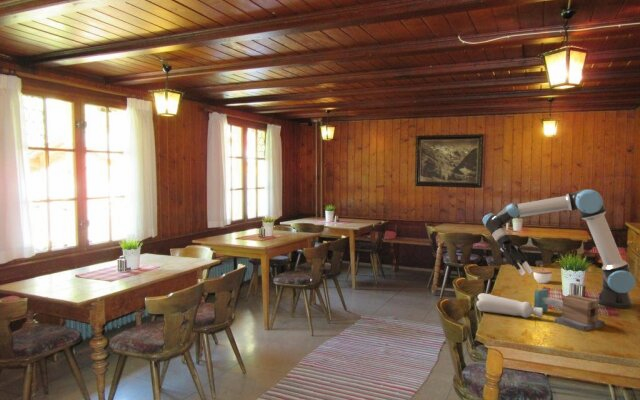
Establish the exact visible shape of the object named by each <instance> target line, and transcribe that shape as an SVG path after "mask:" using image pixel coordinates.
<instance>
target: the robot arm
mask: <svg viewBox="0 0 640 400" xmlns="http://www.w3.org/2000/svg"><path fill="white" fill-rule="evenodd" d="M568 210H570V211H571V212H573V211H578V213H579V215H580V218H581V219H582V220H584V221H585V222H586V224H587V226H588V229H589V232H590V235H591V237H592V238H593V242H594V244H595V246H596V249H597V251H598V254H599V256H600V259H601V262H602V267H601V271H602V289H601V292H600V293H599V295H598V298H597V300H598V305H601V306H605V307H608V308H615V309H630V308H632V300H631V296H630V294H629V292H630V291H632V290H633V289H634V288H635V286H636V279H635V278H636V277H635V276H634V274H632V271H631V269H630V265H629V263H628V262H627V261H625V260H623V258H622V256H621V253H620V251H619V248H618V246H617V244H616V242H615V241H616V240H615V238H614V236H613V234H612V231H611V229H610V226H609V223H608V222H607V219H606V217H605V215H606V214H607V209H606V207H605V205H604V199H603V197H602V195H601V194H600V193H599V192H598V191H596V190H594V189H588V188H586V189H585V188H584V189H581V190H578V191H574V192H571V193H570V192H569V193H566V195H564V196H557V197H550V198H546V199H540V200H535V201H534V200H533V201H528V202H522V203H517V204H514V203H512V202H511V203H509V204H507V205H505V206H503V208H502V209H501V210H500V211H498V212H497V213H495V214H494V213H492V212H491V213H488V214H486V215H484V216H483V218H482V223H483V225H484V227H485V228H486V229H487V231H488V232H489V234H490V235H491V237H492V238H494V239H493V240H495V242H496V244H497V245H498V246H499V248H500V249H499V251H500V252H501V253H502V255H503V256H504V258H505V259H506V261H507V262H508V264H509V265H510V266H512V267H515V269H516V270H517V271H518V273H519V274H520V275H521V276H523V277H524V275H525V274H526V273H528V275H531V274H533V272H534V271H533V270H534V269H532V266H531V265H530V264H529V262H528V260H529V258H528V256H527V255H526V254H525V253H524V251H523V250H522V248H521V247H520V245H515V244H514V243H513V239H512V237H511V236H510V235H509V233H508V231H507V230H506V229H505V228H504V227H503V226H505V225H507V223H510V222H511V221H512V220H514V219H515V218H517V219H518V218H523V217H528V216H529V217H530V216H536V215H540V214H547V213H554V212H560V211H568ZM517 259H518V260H519V261H520V262H519V261H517ZM520 263H522V264H520Z"/></svg>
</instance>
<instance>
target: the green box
mask: <svg viewBox="0 0 640 400" xmlns="http://www.w3.org/2000/svg"><path fill="white" fill-rule="evenodd" d="M549 306H552V307H555V308H559V309H562V308H563V299H559V298H555V297H550V296H549V288H541V289H537V290H534V305H533V308H535V307H537V308H543V313H545V312H548V311H549Z"/></svg>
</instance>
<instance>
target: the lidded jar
mask: <svg viewBox="0 0 640 400" xmlns="http://www.w3.org/2000/svg"><path fill="white" fill-rule="evenodd" d="M532 270H533V271H534V272H533V273H532V275H533V278H534V280H535V282H537V283H539V284H547V283H549V282H550V281H551V278H552V272H553V271H552V270H550V269H546V268H544V267H541V268H534V269H532Z"/></svg>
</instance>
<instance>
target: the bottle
mask: <svg viewBox="0 0 640 400" xmlns="http://www.w3.org/2000/svg"><path fill="white" fill-rule="evenodd" d="M476 307H477V310H479V311H480V312H485V313H491V314H501V315H509V316H515V317H516V316H517V317H519V316H521V317H522V318H524V319H528V318H530V317H531V316H532V315H534V317H539V318H543V315H544V312H543V308H537V307H535V308H534V307H533V306H532V304H531V303H529V302H528V301H523V302H522V301H519V300H516V299H511V298H507V297H502V296H497V295H493V294H490V293H485V292H482V293H479V294H478V295H477V301H476Z"/></svg>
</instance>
